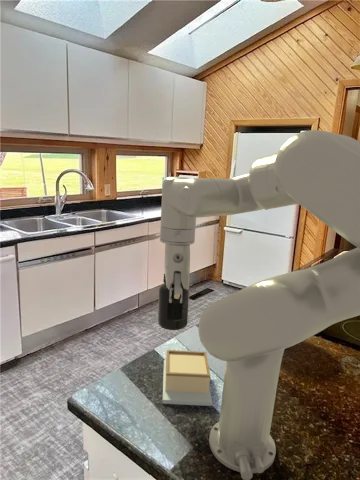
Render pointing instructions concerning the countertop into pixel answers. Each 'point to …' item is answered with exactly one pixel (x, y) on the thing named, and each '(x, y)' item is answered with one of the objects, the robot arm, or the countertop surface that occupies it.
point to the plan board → (186, 378)
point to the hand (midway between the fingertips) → (173, 311)
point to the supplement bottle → (163, 306)
